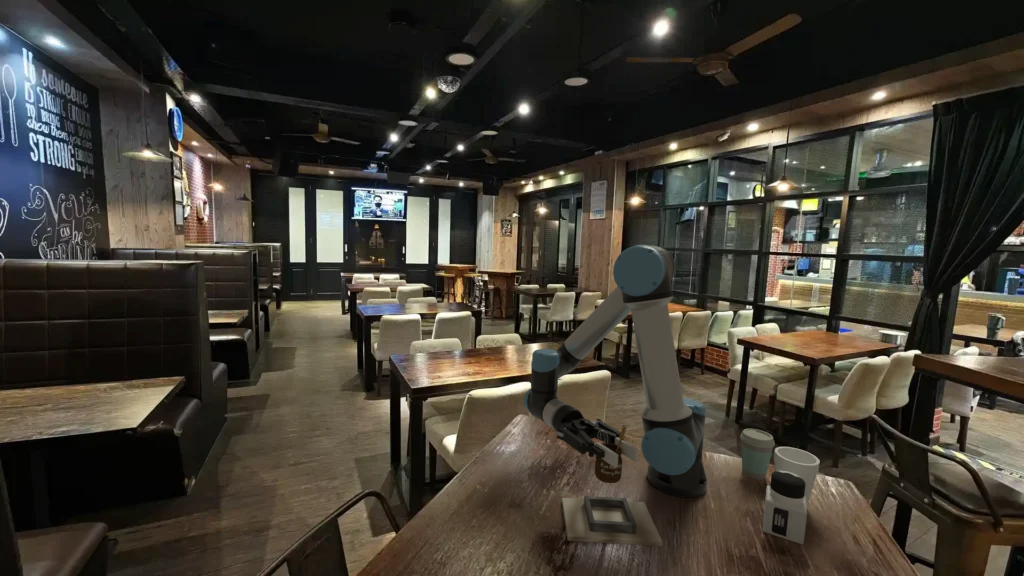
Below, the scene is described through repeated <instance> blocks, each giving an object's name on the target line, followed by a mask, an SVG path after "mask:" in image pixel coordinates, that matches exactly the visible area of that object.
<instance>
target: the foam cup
mask: <svg viewBox="0 0 1024 576" xmlns="http://www.w3.org/2000/svg"><path fill="white" fill-rule="evenodd" d="M773 461H774V471H787V472H791V473H793V474H796V475H797V476H799V477H801V478H802V479H803V480H804V482H805V483H806V486H805V494H804V496H805V497H806V506H807V507H808V504H809V501H810V498H811V494H812V492H813V488H814V485H815V481H816V478H817V474H819V469H820V461H821V460H820V459H819V458H818V457H817V456H816V455H814V454H812V453H810V452H808V451H806V450H803V449H799V448H796V447H791V446H778V447H775V448H774V454H773Z"/></svg>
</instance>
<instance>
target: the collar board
mask: <svg viewBox="0 0 1024 576" xmlns="http://www.w3.org/2000/svg"><path fill="white" fill-rule="evenodd" d="M561 503H562V509H563V516H564V524H565V532H566V537H567V538H566V539H567V541H569V542H582V543H583V542H585V543H598V542H599V543H600V544H601V543H602V544H616V543H617V544H619V545H632V546H633V545H636V546H637V545H638V546H650V547H651V546H652V547H653V546H655V547H656V546H657V547H662V546H663V540H662V538H661V535H660V534H659V531H658V529H657V527H656V524H655V523H654V521H653V519H652V516H651V514H650V512H649V510H648V508H647V505H646V504H645V502H644V501H630V500H627V498H626V497H613V496H612V497H610V496H609V497H608V496H594V495H593V496H592V495H584V497H583V498H574V497H562V498H561Z"/></svg>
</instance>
